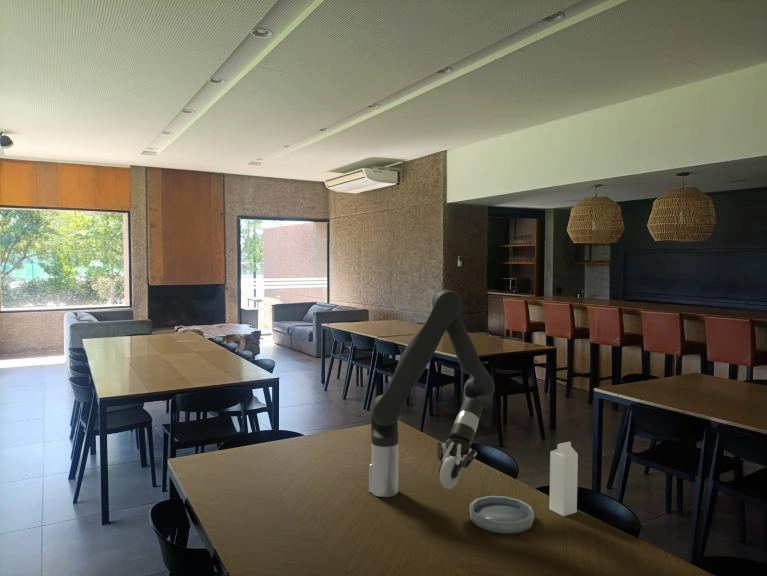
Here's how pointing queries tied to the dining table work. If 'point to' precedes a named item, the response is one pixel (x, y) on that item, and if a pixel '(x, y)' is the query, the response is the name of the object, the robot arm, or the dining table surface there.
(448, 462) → the donut
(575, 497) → the milk
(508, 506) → the bowl
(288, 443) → the dining table surface
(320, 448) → the dining table surface
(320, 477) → the dining table surface
